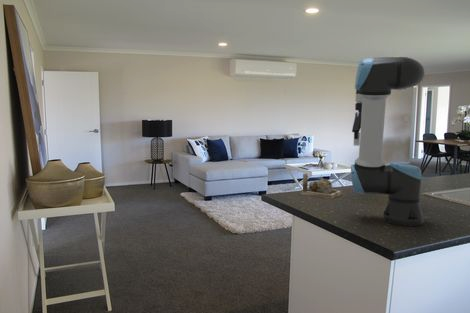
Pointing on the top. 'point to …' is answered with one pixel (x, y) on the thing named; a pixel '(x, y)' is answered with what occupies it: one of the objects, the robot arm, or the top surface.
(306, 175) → the wooden tray
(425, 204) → the top surface
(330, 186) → the rock
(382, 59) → the robot arm
